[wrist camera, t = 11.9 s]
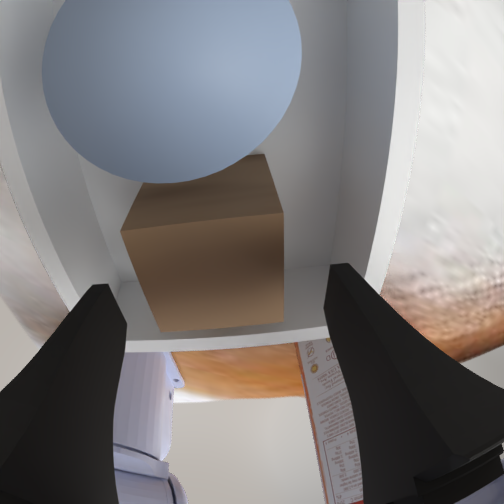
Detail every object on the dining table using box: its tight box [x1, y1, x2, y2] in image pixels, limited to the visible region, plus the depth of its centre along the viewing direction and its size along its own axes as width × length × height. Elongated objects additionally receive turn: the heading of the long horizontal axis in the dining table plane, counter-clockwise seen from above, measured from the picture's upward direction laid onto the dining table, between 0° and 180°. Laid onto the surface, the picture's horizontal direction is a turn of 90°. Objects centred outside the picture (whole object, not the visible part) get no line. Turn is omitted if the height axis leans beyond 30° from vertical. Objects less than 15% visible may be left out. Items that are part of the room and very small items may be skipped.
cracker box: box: [294, 338, 364, 504], centre depth 15 cm, size 14×6×21 cm, turn 48°
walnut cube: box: [120, 154, 284, 332], centre depth 12 cm, size 5×5×5 cm
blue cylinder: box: [42, 0, 302, 183], centre depth 7 cm, size 5×5×7 cm
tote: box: [0, 0, 426, 352], centre depth 11 cm, size 18×14×5 cm
